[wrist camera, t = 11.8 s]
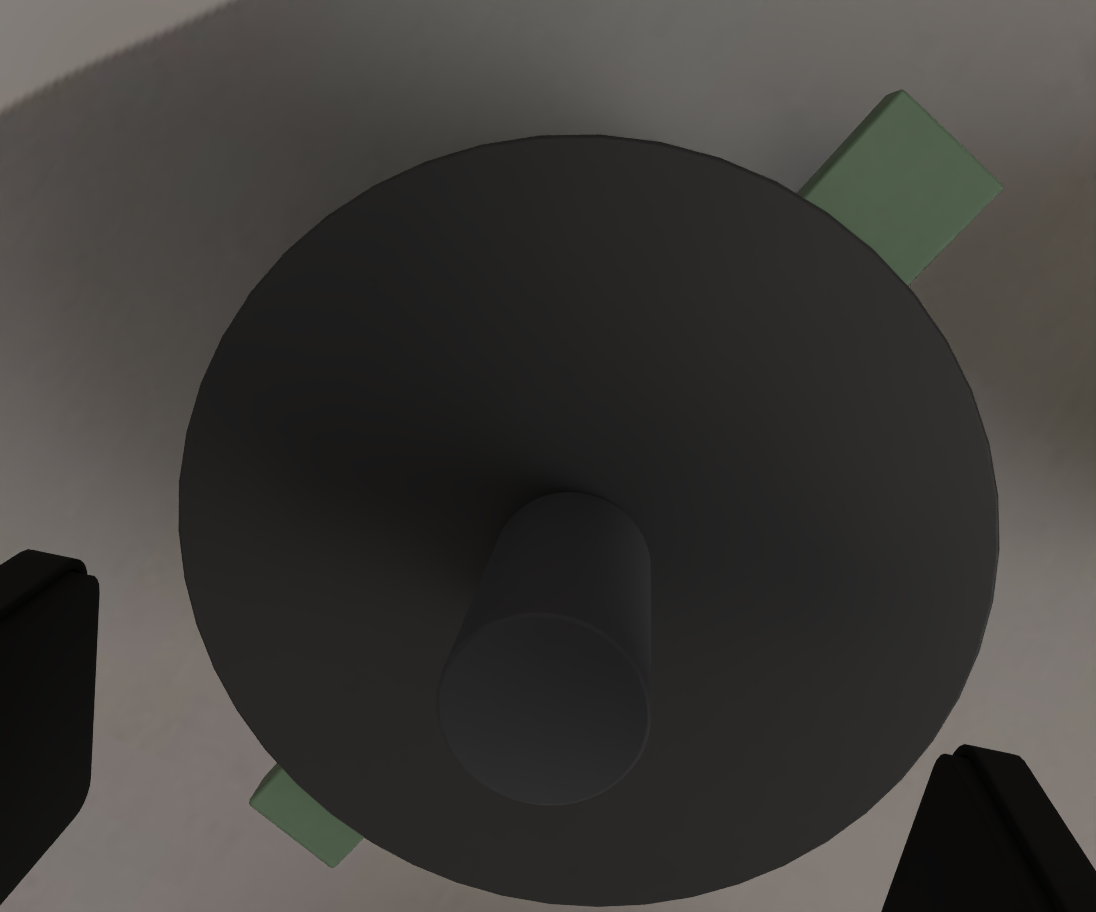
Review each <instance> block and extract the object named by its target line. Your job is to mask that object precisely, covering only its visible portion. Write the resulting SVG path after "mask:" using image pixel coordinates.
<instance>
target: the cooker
mask: <svg viewBox="0 0 1096 912" xmlns="http://www.w3.org/2000/svg"><path fill="white" fill-rule="evenodd" d="M1002 188H1003V185H1002V183H1001V182H1000V181H999V180H998V179H996V178H995V177H994V176H993V175H992V174H991V173H990V172H989V171H988V170H987V169H986V168H985V167H984V166H983V165H982V164H981V163H980V162H979V161H978V160H977V159H976V158H975V157H974V156H972V155H971V154H970V153H969V152H968V151H967V150H966V149H965V148H964V147H963V146H962V145H961V144H960V143H959V142H958V141H957V140H956V139H955V138H954V137H953V136H952V135H951V134H950V133H948V132H947V131H946V130H945V129H944V128H943V127H942V126H941V125H940V124H939V123H938V122H937V121H936V120H935V119H934V118H933V117H932V116H931V115H930V114H929V113H928V112H927V111H926V110H924V109H923V108H922V107H921V106H920V105H919V104H918V103H917V102H916V101H915V100H914V99H913V98H912V97H911V96H910V95H909V94H908V93H907V92H906V91H904V90H899V91H896V92H893V93H890V94H888V95H886V96H885V97H884V98H883V99H882V101H881V102H880V103H879V104H878V105H877V106H876V107H875V108H874V109H873V110H872V111H871V113H870V114H869V115H868V116H867V117H866V118H865V119H864V120H863V121H862V122H861V124H860V125H859V126H858V127H857V128H856V129H855V130H854V131H853V132H852V133H851V134H850V136H849V137H848V138H847V139H846V140H845V141H844V142H843V143H842V144H841V145H840V147H839V148H838V149H837V150H836V151H835V152H834V153H833V154H832V155H831V156H830V158H829V159H828V160H827V161H826V162H825V163H824V164H823V165H822V166H821V167H820V168H819V170H818V171H817V172H816V173H815V174H814V175H813V176H812V177H811V178H810V179H809V181H808V182H807V183H806V184H805V185H804V186H803V187H802V188H801V189H800V190H799V191H798V193H797V194H798V195H799V196H801V197H803V198H804V199H806V200H808V201H809V202H811V203H813V204H815V205H816V206H818V207H820V208H821V209H823V210H825V211H826V212H828V213H829V214H830V215H831V216H833V217H834V218H835V219H836V220H838V221H839V222H840V223H841V224H843V225H844V226H845V227H846V228H848V229H849V230H850V231H851V232H853V233H854V234H855V235H856V236H858V237H859V238H860V239H861V240H863V241H864V242H865V243H866V244H867V245H869V246H870V247H871V248H872V249H874V250H875V251H876V253H877V254H878V255H879V256H880V257H881V258H882V259H883V260H884V261H885V262H886V263H887V264H888V265H889V266H890V268H891V269H892V270H893V271H894V272H895V273H896V274H897V275H898V276H899V277H900V278H901V279H902V280H903V281H904V283H905V284H906V285H907V286H908V285H909V284H910V283H911V282H912V281H913V280H914V279H915V278H916V277H917V276H918V275H919V274H920V273H921V272H922V271H923V270H924V269H925V268H926V267H927V266H928V265H929V264H930V263H931V261H932V260H933V259H934V258H935V257H936V256H937V255H938V254H939V253H940V252H941V251H942V250H943V249H944V248H945V247H946V246H947V245H948V244H949V243H950V242H951V241H952V240H953V239H954V238H955V237H956V236H957V235H958V234H959V233H960V232H961V231H962V230H963V229H964V228H965V227H966V226H967V225H968V224H969V223H970V222H971V221H972V220H973V219H974V218H975V217H976V216H977V215H978V214H979V213H980V212H981V211H982V210H983V209H984V208H985V207H986V206H987V205H988V204H989V203H990V202H991V201H992V200H993V198H994V197H995V196H996V195H997V194H998V193H999V192H1000V191H1001V190H1002ZM249 804H250V806H252V807H253V808H254V809H255V810H257V811H258V812H259V813H261V814H262V815H263V816H265V817H266V818H267V819H268V820H270V821H271V822H272V823H274V824H275V825H276V826H277V827H279V828H280V829H281V830H283V831H284V832H285V833H287V834H288V835H289V836H290V837H292V838H293V839H294V840H296V841H297V842H298V843H300V844H301V845H302V846H303V847H305V848H306V849H307V850H309V851H310V852H311V853H312V854H314V855H315V856H316V857H318V858H319V859H320V860H322V861H323V862H324V863H325V864H327V865H328V866H329V867H331V868H334V867H335V866H337V865H338V864H339V863H340V862H341V861H342V860H343V859H344V858H345V857H346V855H347V854H348V853H349V852H350V851H351V850H352V849H353V848H354V847H355V846H356V845H357V844H358V843H359V842H360V841H361V840H362V839H363V838H364V837H363V836H362V835H360V834H359V833H357V832H356V831H354V830H353V829H352V828H350V827H349V826H347V825H346V824H344V823H343V822H341V821H340V820H339V819H337V818H336V817H334V816H333V815H332V814H330V813H329V812H328V811H327V810H326V809H325V808H324V807H322V806H321V805H320V804H319V803H318V802H317V801H316V800H314V799H313V798H312V797H311V796H310V795H309V794H308V793H306V792H305V791H304V790H303V789H302V788H301V787H299V786H298V785H297V784H296V783H295V782H294V781H293V780H292V778H291V777H290V776H289V775H288V774H287V773H286V772H285V771H284V770H283V769H282V767H281V766H280V765H279V764H278V763H277V764H276V765H275V766H274V767H273V768H272V769H271V770H270V771H269V772H268V774H267V775H266V776H265V777H264V778H263V780H262V781H261V783H260V785H259V786H258V788H257V789H256V791H255V792H254V794H253V795H252V797H251V799H250V801H249Z"/></svg>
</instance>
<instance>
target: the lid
mask: <svg viewBox="0 0 1096 912" xmlns="http://www.w3.org/2000/svg"><path fill="white" fill-rule="evenodd" d="M179 537H180V545H181V553H182V561H183V569H184V577H185V582H186V586H187V589H188V593H189V597H190V601H191V605H192V609H193V613H194V617H195V620H196V624H197V627H198V629H199V632H200V634H201V637H202V639H203V642H204V644H205V647H206V650H207V652H208V655H209V657H210V660H211V662H212V665H213V667H214V669H215V671H216V673H217V675H218V677H219V678H220V680H221V682H222V684H223V686H224V688H225V689H226V691H227V693H228V695H229V697H230V699H231V700H232V702H233V704H234V706H235V708H236V709H237V711H238V712H239V714H240V715H241V717H242V718H243V719H244V721H245V722H246V724H247V725H248V726H249V728H250V729H251V731H252V732H253V733H254V735H255V736H256V738H257V739H258V740H259V742H260V743H261V745H262V746H263V747H264V749H265V750H266V751H267V752H268V753H269V754H270V755H271V756H272V758H273V759H274V760H275V761H276V762H277V763H278V764H279V765H280V766H281V767H282V769H283V770H284V771H285V772H286V773H287V774H288V775H289V776H290V777H291V778H292V780H293V781H294V782H295V783H296V784H297V785H298V786H299V787H301V788H302V789H303V790H304V791H305V792H306V793H308V794H309V795H310V796H311V797H312V798H313V799H314V800H316V801H317V802H318V803H319V804H320V805H321V806H322V807H324V808H325V809H326V810H327V811H328V812H329V813H330V814H332V815H333V816H334V817H336V818H337V819H339V820H340V821H341V822H343V823H344V824H346V825H347V826H349V827H350V828H352V829H353V830H354V831H356V832H357V833H359V834H360V835H362V836H363V837H365V838H366V839H367V840H369V841H370V842H372V843H374V844H376V845H378V846H379V847H381V848H383V849H385V850H387V851H389V852H390V853H392V854H394V855H396V856H398V857H400V858H402V859H403V860H405V861H407V862H409V863H411V864H413V865H415V866H417V867H420V868H422V869H425V870H427V871H430V872H432V873H435V874H437V875H440V876H442V877H444V878H447V879H449V880H452V881H454V882H457V883H460V884H464V885H467V886H471V887H474V888H478V889H481V890H485V891H488V892H492V893H495V894H499V895H502V896H507V897H513V898H519V899H525V900H531V901H536V902H542V903H548V904H561V905H577V906H593V907H603V906H624V905H645V904H652V903H658V902H664V901H670V900H676V899H683V898H689V897H694V896H698V895H701V894H705V893H709V892H712V891H716V890H719V889H723V888H726V887H730V886H734V885H737V884H740V883H743V882H745V881H748V880H750V879H753V878H755V877H757V876H760V875H762V874H765V873H767V872H770V871H772V870H774V869H777V868H779V867H782V866H784V865H786V864H788V863H790V862H791V861H793V860H795V859H797V858H799V857H800V856H802V855H804V854H806V853H808V852H809V851H811V850H813V849H815V848H817V847H818V846H820V845H822V844H824V843H826V842H827V841H829V840H830V839H831V838H833V837H834V836H835V835H837V834H838V833H839V832H841V831H842V830H844V829H845V828H846V827H848V826H849V825H850V824H852V823H853V822H855V821H856V820H857V819H859V818H860V817H861V816H863V815H864V814H865V813H867V812H868V811H869V810H870V809H871V808H872V807H873V806H874V805H875V804H876V803H877V802H878V801H879V800H880V799H881V798H883V797H884V796H885V795H886V794H887V793H888V792H889V791H890V790H891V789H892V788H893V787H894V786H895V785H896V784H897V783H898V782H899V781H900V780H902V778H903V777H904V776H905V775H906V773H907V772H908V771H909V770H910V769H911V767H912V766H913V765H914V764H915V762H916V761H917V760H918V759H919V757H920V756H921V755H922V754H923V753H924V751H925V750H926V749H927V748H928V746H929V745H930V744H931V743H932V741H933V740H934V738H935V737H936V735H937V733H938V732H939V730H940V729H941V727H942V725H943V724H944V722H945V720H946V719H947V717H948V715H949V714H950V712H951V710H952V709H953V707H954V706H955V704H956V702H957V701H958V699H959V697H960V695H961V692H962V690H963V688H964V685H965V683H966V681H967V679H968V676H969V674H970V672H971V669H972V667H973V665H974V662H975V660H976V658H977V656H978V653H979V650H980V647H981V643H982V639H983V636H984V632H985V628H986V625H987V621H988V618H989V614H990V610H991V607H992V603H993V597H994V589H995V580H996V572H997V564H998V556H999V511H998V493H997V487H996V481H995V475H994V469H993V463H992V457H991V451H990V446H989V441H988V438H987V435H986V432H985V429H984V426H983V423H982V420H981V417H980V414H979V411H978V408H977V405H976V402H975V398H974V395H973V392H972V390H971V388H970V386H969V384H968V382H967V380H966V378H965V376H964V374H963V372H962V370H961V368H960V366H959V364H958V362H957V360H956V358H955V356H954V354H953V352H952V350H951V348H950V345H949V343H948V341H947V340H946V338H945V337H944V335H943V334H942V332H941V331H940V330H939V328H938V327H937V325H936V324H935V322H934V321H933V319H932V318H931V317H930V315H929V314H928V312H927V311H926V309H925V308H924V306H923V305H922V304H921V302H920V301H919V299H918V298H917V296H916V295H915V294H914V292H913V291H912V290H911V289H910V288H909V287H908V286H907V285H906V284H905V283H904V281H903V280H902V279H901V278H900V277H899V276H898V275H897V274H896V273H895V272H894V271H893V270H892V269H891V268H890V266H889V265H888V264H887V263H886V262H885V261H884V260H883V259H882V258H881V257H880V256H879V255H878V254H877V253H876V251H875V250H874V249H872V248H871V247H870V246H869V245H867V244H866V243H865V242H864V241H863V240H861V239H860V238H859V237H858V236H856V235H855V234H854V233H853V232H851V231H850V230H849V229H848V228H846V227H845V226H844V225H843V224H841V223H840V222H839V221H838V220H836V219H835V218H834V217H833V216H831V215H830V214H829V213H828V212H826V211H825V210H823V209H821V208H820V207H818V206H816V205H815V204H813V203H811V202H809V201H808V200H806V199H804V198H803V197H801V196H799V195H798V194H796V193H794V192H793V191H791V190H789V189H788V188H786V187H784V186H783V185H781V184H779V183H778V182H776V181H774V180H771V179H769V178H767V177H764V176H762V175H759V174H757V173H755V172H752V171H750V170H748V169H745V168H743V167H740V166H738V165H736V164H733V163H731V162H729V161H726V160H724V159H721V158H719V157H715V156H711V155H708V154H704V153H700V152H696V151H693V150H689V149H685V148H681V147H678V146H674V145H670V144H666V143H662V142H657V141H648V140H640V139H632V138H624V137H616V136H608V135H546V136H534V137H528V138H521V139H515V140H509V141H502V142H496V143H489V144H483V145H479V146H476V147H472V148H469V149H466V150H462V151H459V152H456V153H452V154H449V155H446V156H443V157H439V158H436V159H433V160H429V161H426V162H424V163H421V164H419V165H417V166H415V167H413V168H411V169H409V170H406V171H404V172H402V173H400V174H398V175H396V176H393V177H391V178H389V179H387V180H385V181H383V182H380V183H378V184H376V185H374V186H372V187H371V188H369V189H368V190H366V191H365V192H363V193H361V194H360V195H358V196H357V197H355V198H354V199H352V200H351V201H349V202H348V203H346V204H344V205H343V206H341V207H340V208H338V209H337V210H335V211H334V212H332V213H331V214H329V215H328V216H326V217H325V218H324V219H323V220H322V221H320V222H319V223H318V224H317V225H316V226H315V227H313V228H312V229H311V230H310V231H309V232H308V233H307V234H305V235H304V236H303V237H302V238H301V239H300V240H299V241H297V242H296V243H295V244H294V245H293V246H292V247H291V248H289V249H288V250H287V251H286V252H285V253H284V254H283V255H282V256H281V258H280V259H279V260H278V261H277V262H276V263H275V265H274V266H273V267H272V268H271V269H270V270H269V271H268V273H267V274H266V275H265V276H264V277H263V278H262V280H261V281H260V282H259V283H258V284H257V285H256V287H255V288H254V289H253V290H252V291H251V292H250V294H249V295H248V297H247V299H246V300H245V302H244V303H243V305H242V306H241V308H240V309H239V311H238V313H237V314H236V316H235V317H234V319H233V320H232V322H231V324H230V325H229V327H228V328H227V330H226V331H225V333H224V334H223V336H222V338H221V340H220V342H219V345H218V347H217V349H216V351H215V353H214V356H213V358H212V360H211V362H210V364H209V367H208V369H207V371H206V373H205V375H204V378H203V380H202V382H201V385H200V388H199V391H198V395H197V398H196V402H195V405H194V408H193V412H192V415H191V419H190V422H189V425H188V429H187V433H186V439H185V446H184V453H183V460H182V466H181V473H180V480H179Z"/></svg>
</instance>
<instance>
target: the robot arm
mask: <svg viewBox="0 0 1096 912" xmlns="http://www.w3.org/2000/svg"><path fill="white" fill-rule="evenodd" d="M98 613H99V583H98V580H97V578H96V577H95V576H91V575H87V570H86V567H85V564H84V563H83V562H82V561H81V560H79V559H74V558H69V557H64V556H60V555H55V554H50V553H45V552H40V551H36V550H29V549H27V550H25V551H22V552H20V553H18V554H17V555H15V556H14V557H12V558H11V559H9V560H7V561H6V562H4V563H3V564H1V565H0V905H1V904H2V903H3V901H4V900H5V899H6V898H7V897H8V895H9V894H10V893H11V892H12V891H13V890H14V888H15V887H16V886H17V885H18V884H19V883H20V881H21V880H22V879H23V878H24V877H25V875H26V874H27V873H28V872H29V871H30V870H31V868H32V867H33V866H34V865H35V864H36V863H37V861H38V860H39V859H40V858H41V857H42V856H43V854H44V853H45V852H46V851H47V850H48V848H49V847H50V846H51V845H52V844H53V843H54V841H55V840H56V839H57V838H58V837H59V836H60V834H61V833H62V832H63V831H64V830H65V828H66V827H67V826H68V825H69V824H70V823H71V821H72V820H73V819H74V818H75V817H76V815H77V814H78V812H79V811H80V809H81V808H82V806H83V804H84V802H85V799H86V797H87V794H88V790H89V787H90V780H91V763H92V742H93V720H94V699H95V677H96V656H97V634H98ZM881 912H1096V871H1095V869H1094V868H1093V866H1092V864H1091V863H1090V861H1089V860H1088V858H1087V857H1086V855H1085V854H1084V852H1083V851H1082V849H1081V847H1080V846H1079V844H1078V843H1077V841H1076V840H1075V838H1074V837H1073V835H1072V834H1071V832H1070V831H1069V829H1068V827H1067V826H1066V824H1065V823H1064V821H1063V820H1062V818H1061V817H1060V815H1059V814H1058V812H1057V810H1056V809H1055V807H1054V806H1053V804H1052V803H1051V801H1050V800H1049V798H1048V797H1047V795H1046V794H1045V792H1044V790H1043V789H1042V787H1041V786H1040V784H1039V783H1038V781H1037V780H1036V778H1035V777H1034V775H1033V773H1032V772H1031V770H1030V769H1029V767H1028V766H1027V764H1026V763H1025V761H1024V760H1023V759H1022V758H1021V757H1020V756H1018V755H1014V754H1010V753H1005V752H1000V751H995V750H990V749H986V748H981V747H976V746H971V745H966V744H964V745H961V746H959V747H958V748H957V750H956V751H955V752H954V754H953V755H948V754H942V755H940V757H939V758H938V759H937V760H936V762H935V765H934V767H933V770H932V772H931V775H930V778H929V781H928V784H927V786H926V789H925V792H924V795H923V797H922V800H921V803H920V806H919V809H918V811H917V814H916V817H915V820H914V822H913V825H912V828H911V831H910V834H909V836H908V839H907V842H906V845H905V847H904V850H903V853H902V856H901V859H900V861H899V864H898V867H897V870H896V872H895V875H894V878H893V881H892V884H891V886H890V889H889V892H888V895H887V897H886V900H885V903H884V906H883V909H882V911H881Z"/></svg>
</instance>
